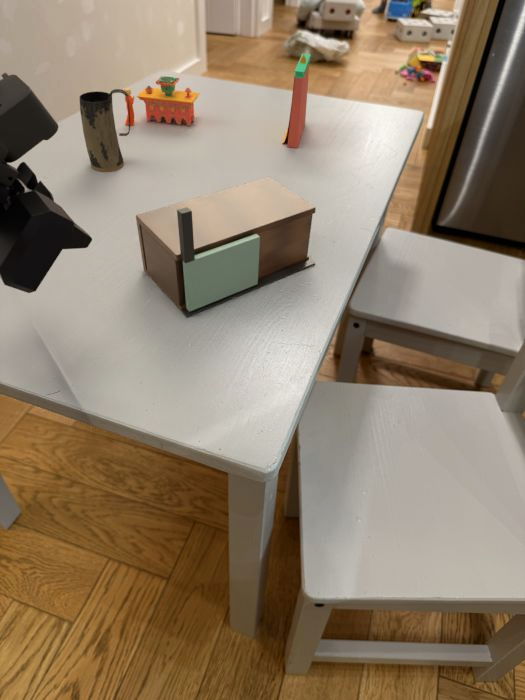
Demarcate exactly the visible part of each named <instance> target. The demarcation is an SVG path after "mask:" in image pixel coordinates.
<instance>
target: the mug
mask: <svg viewBox="0 0 525 700" xmlns="http://www.w3.org/2000/svg"><path fill="white" fill-rule="evenodd" d="M117 93H119V94H123V95H124V97H125V96H126V97H127V103H128V111H127V114H128V113H129V125H128V131H127V132H119V133H117V129H116V123H115V116H114V108H113V107H114V106H113V94H117ZM127 103H126V104H127ZM79 111H80V112H79V113H80V118H81V125H82V131H83V132H82V133H83V137H84V142H85V147H86V151H87V154H88V157H89V161H90V166H91V168H92V169H93V170H95V171H97V172H103V173H107V172H114V171H118V170H120V169H122V168H123V167H124V166H125V161H124V157H123V154H122V151H121V147H120V143H119V138H118V136H119V137H127V136H129V134H130V131H131V125H130V107H129V97H128V94H127V93H126V91H124V89H123V88H122V89H121V88H115V89H112V90H111V91H110V92H105V91H89V92H85V93H82V94H80V95H79Z"/></svg>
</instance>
